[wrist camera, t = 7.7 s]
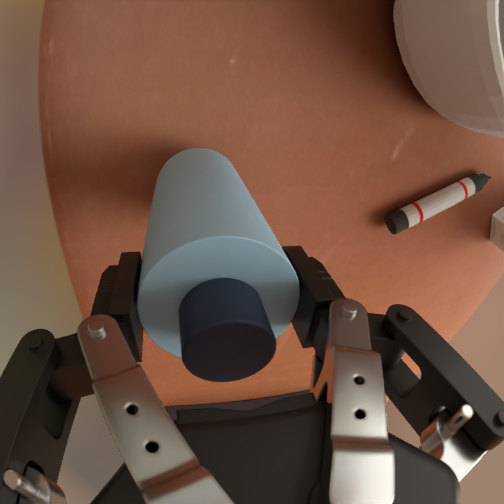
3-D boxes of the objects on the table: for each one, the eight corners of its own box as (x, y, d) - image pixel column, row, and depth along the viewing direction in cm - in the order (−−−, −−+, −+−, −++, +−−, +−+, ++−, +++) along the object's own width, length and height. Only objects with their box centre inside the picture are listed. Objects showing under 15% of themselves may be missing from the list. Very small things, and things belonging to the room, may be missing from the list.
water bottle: (157, 227, 21) (149, 409, 9) (155, 148, 18) (114, 283, 6) (236, 224, 22) (301, 392, 11) (241, 148, 19) (342, 270, 8)
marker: (386, 228, 28) (397, 238, 26) (384, 211, 27) (395, 221, 25) (483, 180, 27) (494, 186, 26) (483, 165, 26) (495, 171, 25)
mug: (503, 24, 17) (572, 37, 9) (476, 146, 25) (547, 182, 16) (350, -93, 10) (422, -133, 2) (305, 56, 18) (389, 50, 10)
